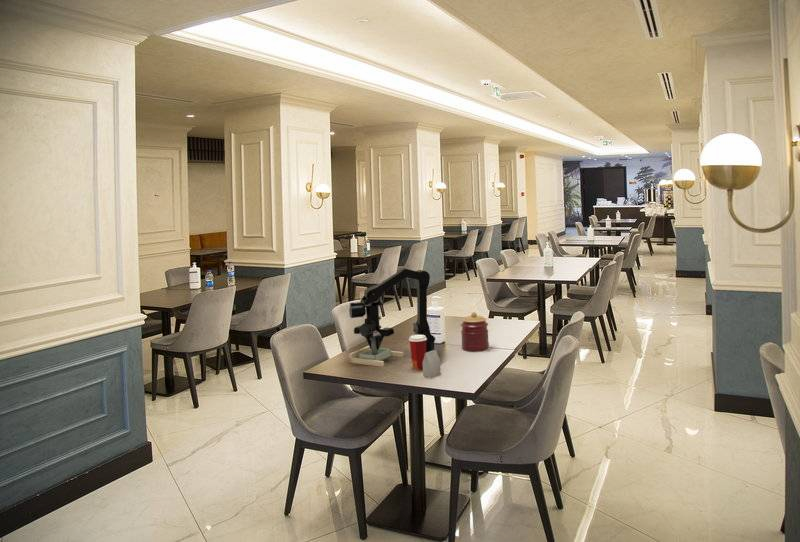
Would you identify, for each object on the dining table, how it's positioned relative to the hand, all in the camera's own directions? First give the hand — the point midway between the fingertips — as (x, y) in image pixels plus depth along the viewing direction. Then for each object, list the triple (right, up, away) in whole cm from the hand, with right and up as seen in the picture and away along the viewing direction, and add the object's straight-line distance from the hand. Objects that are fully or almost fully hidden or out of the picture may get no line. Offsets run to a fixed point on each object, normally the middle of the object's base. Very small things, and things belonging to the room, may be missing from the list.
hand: (374, 349), depth 260 cm
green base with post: (0, -5, 0) cm, 5 cm away
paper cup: (+20, -6, -15) cm, 26 cm away
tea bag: (+25, -7, -26) cm, 37 cm away
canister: (+48, -2, +13) cm, 50 cm away
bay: (+1, -5, 0) cm, 6 cm away
